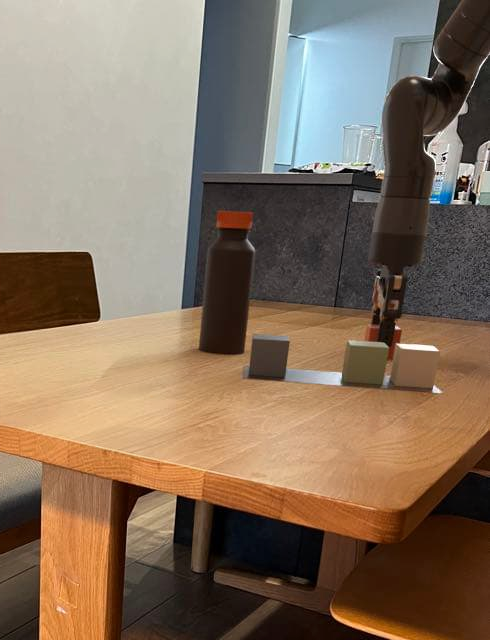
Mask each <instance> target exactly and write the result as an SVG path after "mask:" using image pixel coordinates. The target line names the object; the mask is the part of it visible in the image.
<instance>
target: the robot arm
mask: <svg viewBox="0 0 490 640" xmlns="http://www.w3.org/2000/svg"><path fill="white" fill-rule="evenodd" d="M432 48H433V54H434V56H435V58H436V59H437V61H438V62H439V63H438V66H437V68H436V69H435V72H434V74H433V76H432V77H431V78H429V77H425V76H420V75H419V76H418V75H406V76H404V77H402V78H400V79H399V80H397V81H396V82H395V83H394V84H393V85H392V87H391V88H390V90H389V91H388V93H387V95H386V96H385V97H386V98H385V100H384V102H383V105H382V112H381V130H382V131H381V134H382V151H383V160H384V170H383V175H382V181H381V187H380V193H379V199H378V203H377V206H376V210H375V214H374V220H373V224H372V225H373V226H372V232H371V237H370V242H369V243H370V244H369V249H368V257H367V262H369V264H373V265H378V266H379V265H380V266H381V268H380V269H377V271H376V273H375V275H376V276H375V279H374V289H373V293H372V300H371V302H370V308H371V314H372V315H371V322H370V324H374V325H379V330H378V336H377V341H376V342H383V343H385V344H386V345H387V346H388V347H391V346H392V343H393V337H394V331H395V326H397V322H398V321H399V320H400V319H401V317H402V315H403V306H404V301H405V296H406V288H407V282H408V281H409V278H408V275H404V269H405V268H407V267H410V268H411V267H412V268H413V267H415V268H416V267H418V266H420V264H421V263H422V257H423V252H424V246H425V242H426V236H427V231H428V224H429V219H430V207H431V197H432V193H433V186H434V181H435V177H436V169H437V163H436V158H435V157H434V156H432V155H431V154H429V153H428V152H427V151H426V149H425V140H424V139H425V137H431V136H436V135H438V134H440V133H442V132H443V131H445V130H446V129H447V128H448V127H449V126H450V125H451V124H452V123H453V122H454V121H455V119H457V117H458V116H459V114H460V113H461V111H462V109H463V107H464V105H465V103H466V101H467V98H468V97H469V94H470V92H471V90H472V87H473V86H474V83H475V81H476V79H477V76H478V74H479V72H480V69H481V67H482V66H483V64H484V62H485V61H486V60H487V59H488V57H489V55H490V0H461V1H460V2H459V4H458V6H457V7H456V9H455V10H454V12H452V14H451V16H450V17H449V19H448V20H447V22H446V24H445V25H444V27H443V28H442V29H441V31H440V32H439V34H438V35H437V38H436V39H435V41H434V43H433V47H432ZM424 136H425V137H424Z"/></svg>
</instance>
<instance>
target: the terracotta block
mask: <svg viewBox="0 0 490 640" xmlns="http://www.w3.org/2000/svg"><path fill="white" fill-rule="evenodd" d="M378 330H379V325H374V324H371V323H367V324H366V329H365V334H364V340H363V341H368V342H376V341H377V336H378ZM402 332H403V329H402V328H401V327H400V326H398V325H396V326H395V331H394V337H393V343H392V346H391V347H389V352H388V358H387V359H393V356H394V350H395V344H396V343H397V344H401V338H402V334H403V333H402Z"/></svg>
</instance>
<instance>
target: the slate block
mask: <svg viewBox="0 0 490 640" xmlns="http://www.w3.org/2000/svg"><path fill="white" fill-rule="evenodd" d="M290 341H291V340H290V337H289V335H276V334H262V333H261V334H260V333H253V334H252V338H251V347H250V356H249V365H248V366H249V375H257V376H271V377H284V378H285V375H286V368H288V367H287V366H288V360H289V359H288V358H289V351H290V343H291V342H290Z"/></svg>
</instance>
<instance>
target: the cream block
mask: <svg viewBox="0 0 490 640" xmlns="http://www.w3.org/2000/svg"><path fill="white" fill-rule="evenodd" d="M440 355H441V351H440V349H438V348H436V346H434V345H426V344H425V345H424V344H411V343H400V344H397V343H396V344H395V350H394V356H393V360H392V363H391V367H390V374H389V376H390V380H391V381H392V383H393V384H394V385H395V386H405V387H419V388H432V389H433V386H434V385H435V381H436V375H437V370H438V365H439V360H440Z"/></svg>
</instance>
